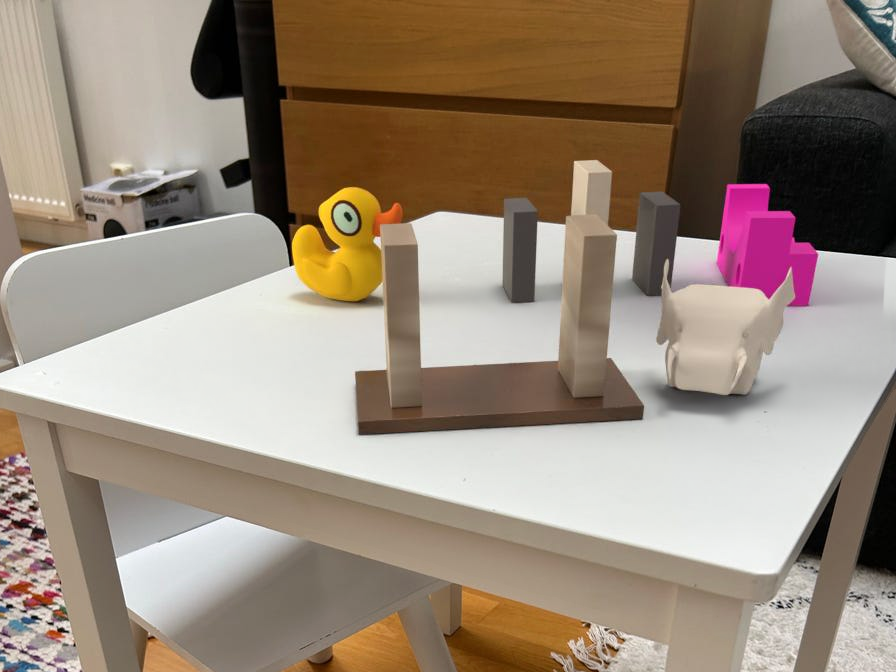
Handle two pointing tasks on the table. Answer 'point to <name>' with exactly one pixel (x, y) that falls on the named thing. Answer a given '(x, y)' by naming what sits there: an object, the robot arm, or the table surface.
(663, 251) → the dark grey upright posts
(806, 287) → the toy block
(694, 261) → the table surface
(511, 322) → the table surface
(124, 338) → the table surface
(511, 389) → the book rack
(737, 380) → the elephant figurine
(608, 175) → the beige rectangular block
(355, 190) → the duckling
